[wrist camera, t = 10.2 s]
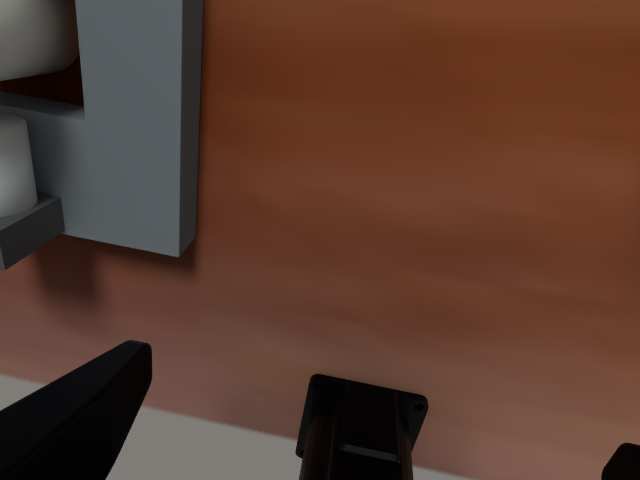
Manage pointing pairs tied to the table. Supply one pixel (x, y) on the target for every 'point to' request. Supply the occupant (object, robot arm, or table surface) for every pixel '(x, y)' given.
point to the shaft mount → (110, 137)
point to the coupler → (37, 37)
